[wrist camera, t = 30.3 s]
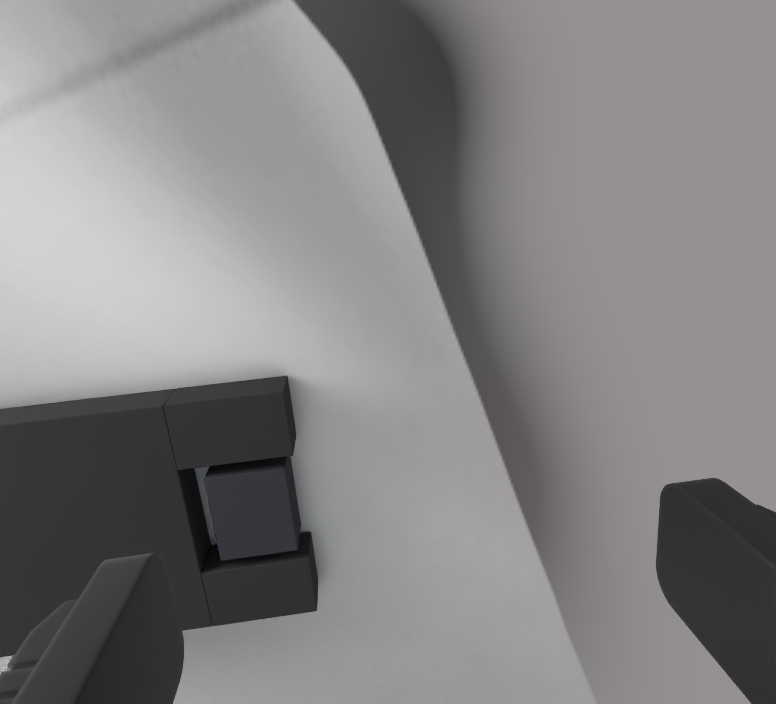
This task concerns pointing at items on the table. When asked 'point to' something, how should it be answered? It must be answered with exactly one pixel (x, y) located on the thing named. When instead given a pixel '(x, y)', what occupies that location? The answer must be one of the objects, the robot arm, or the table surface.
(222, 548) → the small black box
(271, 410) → the big notched pad
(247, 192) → the table surface
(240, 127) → the table surface
